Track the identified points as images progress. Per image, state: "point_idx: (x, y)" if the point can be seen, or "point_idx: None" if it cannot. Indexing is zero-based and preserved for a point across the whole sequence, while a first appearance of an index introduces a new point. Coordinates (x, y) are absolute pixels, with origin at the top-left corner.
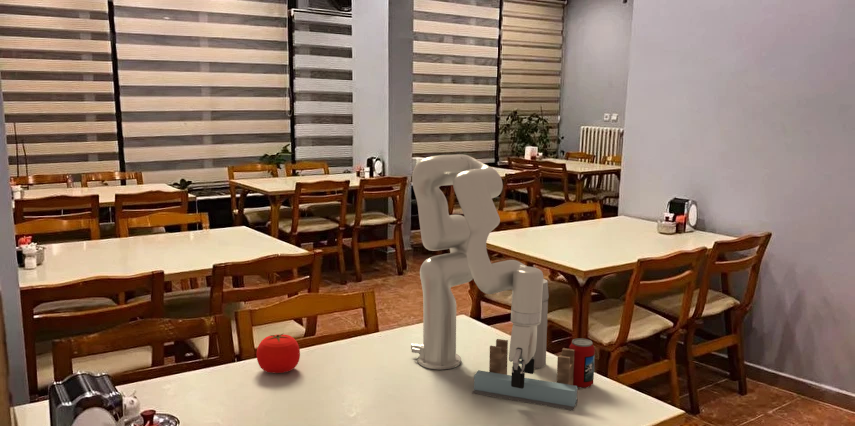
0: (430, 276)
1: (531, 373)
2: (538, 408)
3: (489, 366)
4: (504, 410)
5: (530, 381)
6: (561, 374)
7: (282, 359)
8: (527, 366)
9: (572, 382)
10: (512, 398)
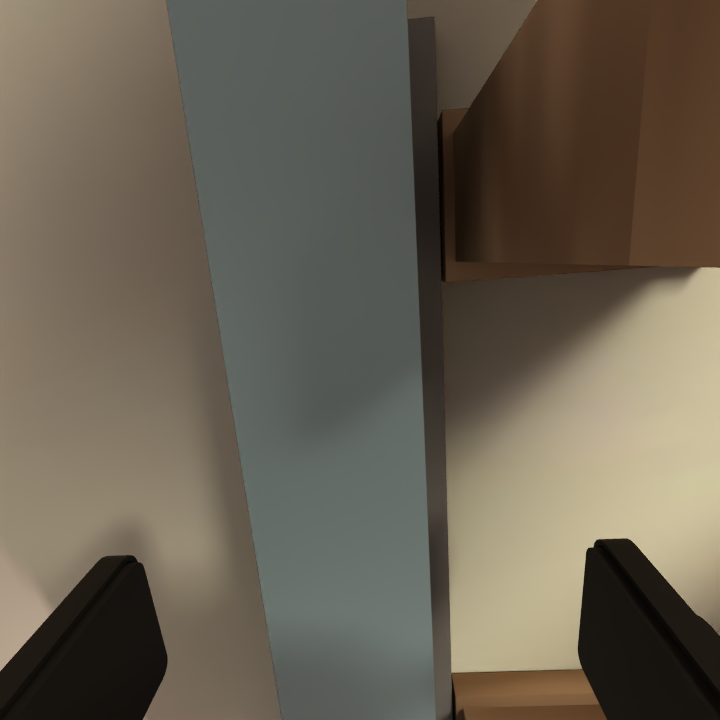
0: None
1: (578, 654)
2: (233, 630)
3: (528, 18)
4: (63, 447)
5: (351, 687)
6: None
7: None
8: (639, 700)
9: None
10: None
